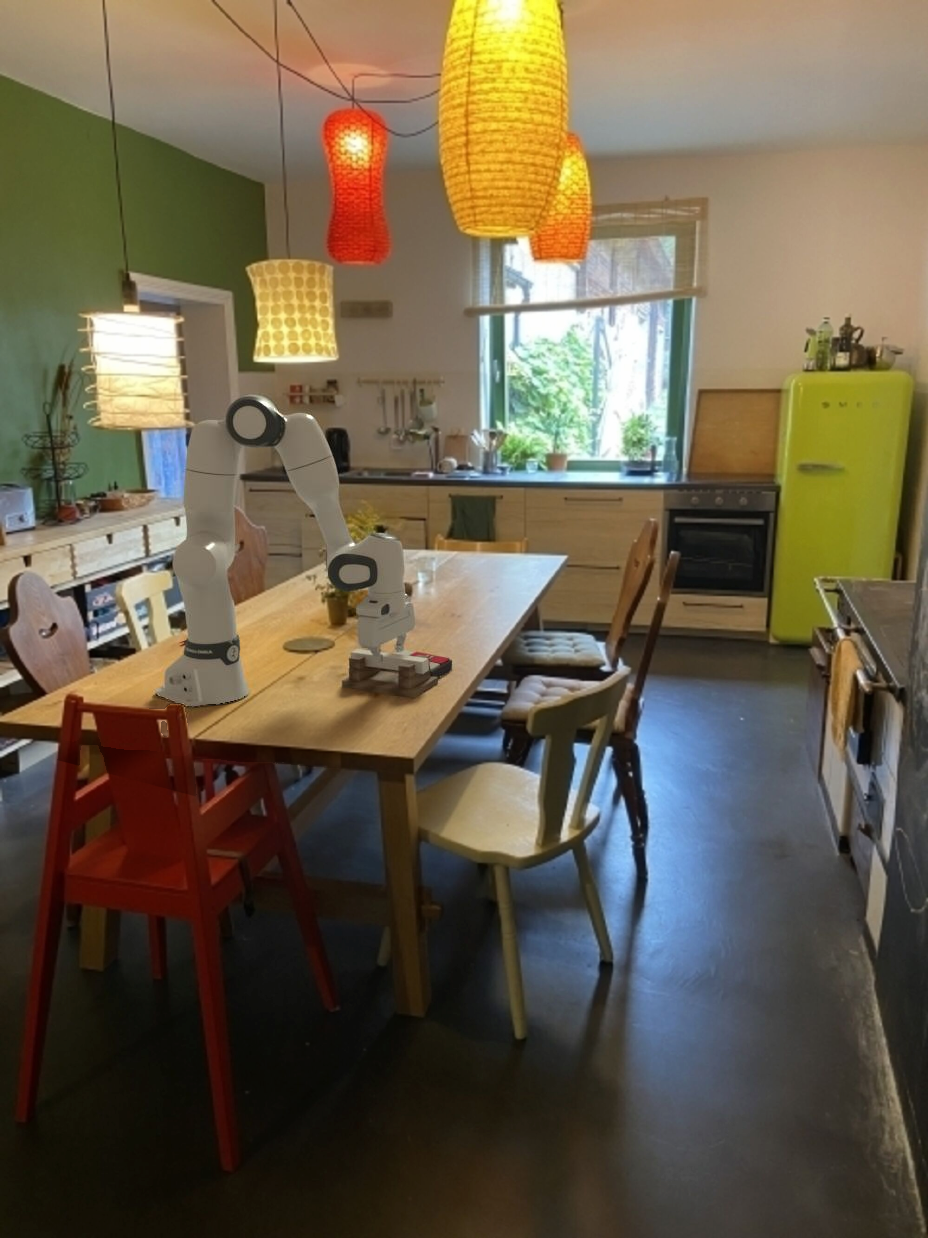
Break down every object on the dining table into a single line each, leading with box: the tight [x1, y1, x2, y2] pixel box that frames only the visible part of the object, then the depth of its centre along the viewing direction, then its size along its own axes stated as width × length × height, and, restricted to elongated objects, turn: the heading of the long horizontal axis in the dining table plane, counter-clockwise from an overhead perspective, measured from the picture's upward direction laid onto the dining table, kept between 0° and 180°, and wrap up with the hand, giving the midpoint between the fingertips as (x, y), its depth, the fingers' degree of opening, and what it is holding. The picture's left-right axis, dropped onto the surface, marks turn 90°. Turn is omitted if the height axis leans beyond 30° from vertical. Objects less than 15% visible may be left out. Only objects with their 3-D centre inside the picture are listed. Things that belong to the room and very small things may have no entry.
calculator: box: [382, 649, 453, 679], centre depth 224 cm, size 11×4×15 cm
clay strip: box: [350, 648, 429, 674], centre depth 213 cm, size 20×3×3 cm, turn 64°
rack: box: [341, 648, 439, 699], centre depth 214 cm, size 20×12×7 cm, turn 62°
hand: (389, 656), depth 213 cm, fingers open, 8 cm apart
